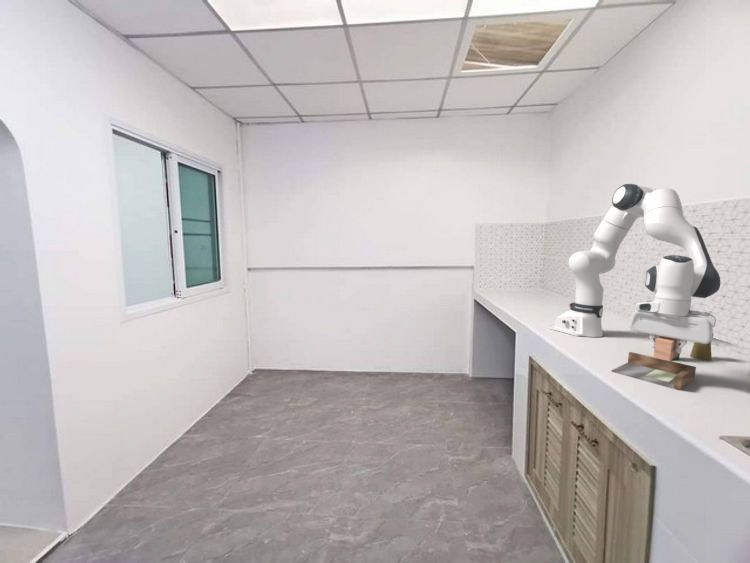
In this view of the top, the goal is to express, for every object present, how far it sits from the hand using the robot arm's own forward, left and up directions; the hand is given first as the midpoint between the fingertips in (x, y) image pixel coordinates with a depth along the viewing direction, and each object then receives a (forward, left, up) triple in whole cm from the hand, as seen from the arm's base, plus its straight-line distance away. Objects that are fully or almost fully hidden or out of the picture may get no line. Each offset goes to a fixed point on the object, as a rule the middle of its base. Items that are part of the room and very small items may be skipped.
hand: (666, 350), depth 112 cm
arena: (-3, -1, -9) cm, 9 cm away
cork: (+2, +37, -9) cm, 38 cm away
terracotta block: (0, 0, -2) cm, 2 cm away
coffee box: (-5, +25, -9) cm, 27 cm away
